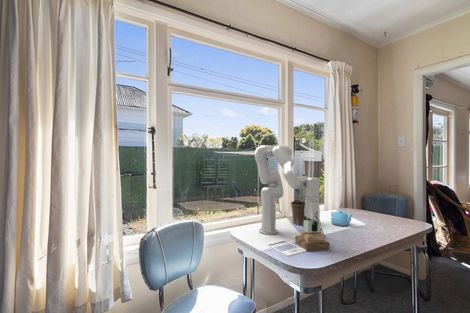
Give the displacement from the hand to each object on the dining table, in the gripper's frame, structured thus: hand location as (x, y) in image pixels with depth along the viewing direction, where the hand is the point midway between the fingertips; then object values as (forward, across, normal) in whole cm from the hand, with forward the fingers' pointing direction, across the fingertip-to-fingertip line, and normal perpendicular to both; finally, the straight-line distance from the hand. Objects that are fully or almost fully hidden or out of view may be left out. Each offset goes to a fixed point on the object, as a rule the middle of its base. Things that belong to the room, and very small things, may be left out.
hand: (311, 229), depth 145 cm
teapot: (+10, -37, +46) cm, 60 cm away
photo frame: (+11, 0, -16) cm, 19 cm away
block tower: (+10, 0, 0) cm, 10 cm away
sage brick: (+1, 0, 0) cm, 1 cm away
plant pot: (+10, -45, +16) cm, 49 cm away
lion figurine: (+10, -16, +10) cm, 22 cm away
